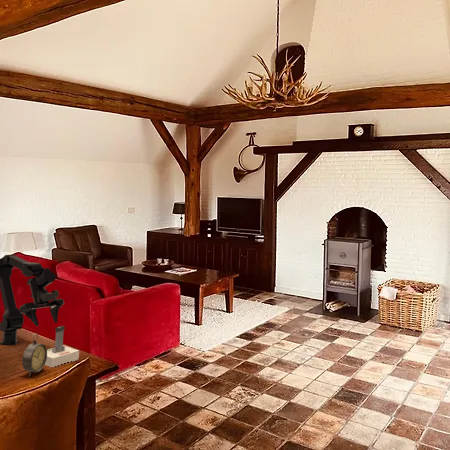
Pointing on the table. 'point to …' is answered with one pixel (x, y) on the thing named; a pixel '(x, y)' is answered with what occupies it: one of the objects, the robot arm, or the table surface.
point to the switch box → (61, 356)
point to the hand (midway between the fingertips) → (47, 324)
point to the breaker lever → (59, 337)
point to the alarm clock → (34, 357)
